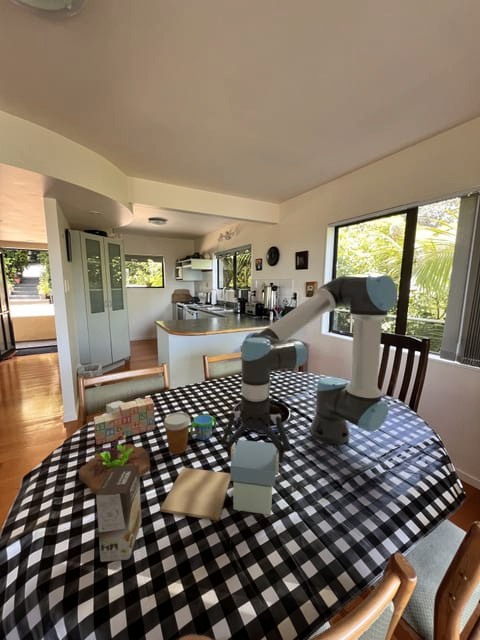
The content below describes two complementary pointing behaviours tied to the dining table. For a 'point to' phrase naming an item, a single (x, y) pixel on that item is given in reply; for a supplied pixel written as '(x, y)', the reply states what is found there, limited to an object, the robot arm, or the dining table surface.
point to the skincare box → (113, 407)
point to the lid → (254, 463)
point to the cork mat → (197, 494)
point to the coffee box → (119, 513)
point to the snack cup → (203, 426)
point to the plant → (113, 463)
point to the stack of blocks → (125, 421)
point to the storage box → (252, 497)
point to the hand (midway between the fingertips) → (254, 469)
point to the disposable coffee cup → (177, 432)
